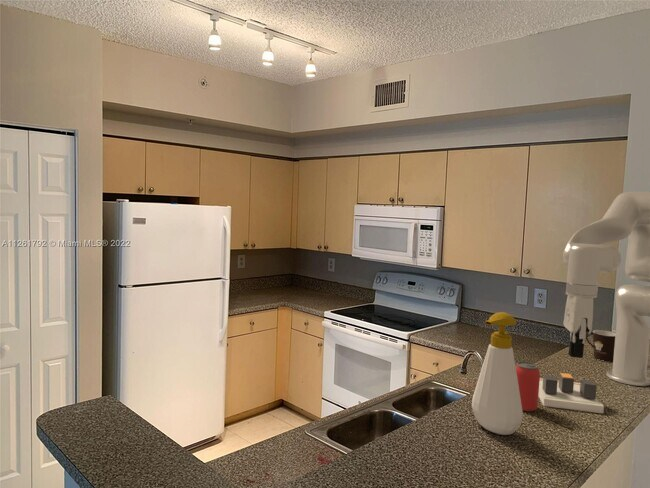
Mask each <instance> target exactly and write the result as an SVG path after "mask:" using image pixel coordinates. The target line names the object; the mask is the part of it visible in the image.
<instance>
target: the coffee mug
mask: <svg viewBox="0 0 650 488" xmlns="http://www.w3.org/2000/svg"><path fill="white" fill-rule="evenodd" d="M588 335H592V339H593V340H592V342H593V344H592V342H590V341H589V339H588ZM615 335H616V332H614V331H608V330H600V329H599V330H598V329H597V330H593V331H591V333H590V334H586V339H585V340H586V342H587V344H589V345H590V346H591V347H592V348H593V358H594V357H595V358H597V359H600V360H604V361H603V362H605V361H613V358H614V347H615ZM595 358H594V359H595ZM597 359H596V360H597ZM600 360H599V361H600Z"/></svg>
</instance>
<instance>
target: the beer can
mask: <svg viewBox="0 0 650 488" xmlns="http://www.w3.org/2000/svg"><path fill="white" fill-rule="evenodd" d="M515 366H516V373H517V379H518V386H519V392H520V398H521V405H522V411H523V412H536V411H537V409H538V405H539V396H538V395H539V382H540V378H541V373H540V370H539V365H538V364H536V363H533V362H528V361H517V362H516V364H515Z"/></svg>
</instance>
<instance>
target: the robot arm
mask: <svg viewBox="0 0 650 488" xmlns="http://www.w3.org/2000/svg"><path fill="white" fill-rule="evenodd" d="M626 238H628V241H627V246H626V247H627V250H626V255H625V256H626V257H625V263H624V264H625V265H624V273H625V276H626V277H627V278H628V279H629V280H632V281H637V282H645V283H650V191H625V192H622V193H620V194H618V195H616V197H615V199H613V202H612V203H611V205H610V206H609V208H608V209H607V211H606V212H605V214H604V215H603V217H602V218H601V219H599V220H596V221H594V222H592V223H590V224H588V225H586V226H583V227H581V228H580V229H578V230H577V231H576V232H574V233H573V235H571V237H570V239H569V240H568V242H567V243H566V245H565V246H564V250H563V252H562V261H563V263H564V264H565V266H566V267H567V275H566V286H565V295H567V298H566V303H565V307H564V308H565V310H564V316H563V327H564V328H565V329H566V330H568V331H569V343H568V344H569V347H568V355H569V357H571V358H579V359H582V358H584V350H585V349H584V348H585V340H586V334H588V335H591V334H590V333H591V332H592V329H593V322H594V320H593V318H594V299H595V298H596V299H597V297H598V288H599V287H598V286H599V276H600V273H611V272H614V271H615V270H617V269H618V268H619V266H620V265H621V262H622V256H621V255H622V254H621V252H620V251H619V250H618V248H616V247H614V246H612V245H609V244H608V243H614V242H618V241H621V240H624V239H626ZM606 244H608V245H606ZM614 295H615V297H614V298H615V307H616V323H615V333H616V335H615V347H614V358H613V362H612V369H610V370H607V372H606V377H608V378H609V379H611V380H613V381H616V382H618V383H621V384H625V385H630V386H637V387H638V386H640V387H647V386H650V377H649V376H647V372H648V362H649V351H650V325H649V322H648V321H647V319H646V318H645V317H649V318H650V286H647V285H642V284H641V285H639V284H623V285H621V286H619V287H618V288H617V290H616V291H615V294H614Z"/></svg>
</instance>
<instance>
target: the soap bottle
mask: <svg viewBox="0 0 650 488" xmlns="http://www.w3.org/2000/svg"><path fill="white" fill-rule="evenodd" d="M484 325H487V326H493V327H494V326H498V331H494V332H493V333H491V336H490V344H488V347H487V350H486V354H485V357H484V360H483V363H482V366H481V368H480V373H479V376H478V379H477V382H476V386H475V388H474V392H473V395H472V398H471V399H472V400H471V408H472V412H473V414H474V417H475V419H476V421H477V422H478V425H480V426H481V427H483V428H484V429H485V430H487V431H489V432H491V433H493V434H496V435H499V436H500V435H501V436H507V435H512V434H514V433H515V432H516V431H517V430H518V429H519V428H520V425H521V423H522V422H523V415H524V414H523V413H524V411H522V405H521V398H520V392H519V386H518V379H517V373H516V362H515V356H514V355H515V354H514V349H513V347H512V341H513V337H512V336H511V334H510V333H509V332H507V331H506V326H515V325H517V320H516V318H515V317H513V315H511V314H509V313H508V312H504V311H500V312H495V313H494V314H492V315H491V316H490V317H489V318H488V319H487V320H484Z"/></svg>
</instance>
